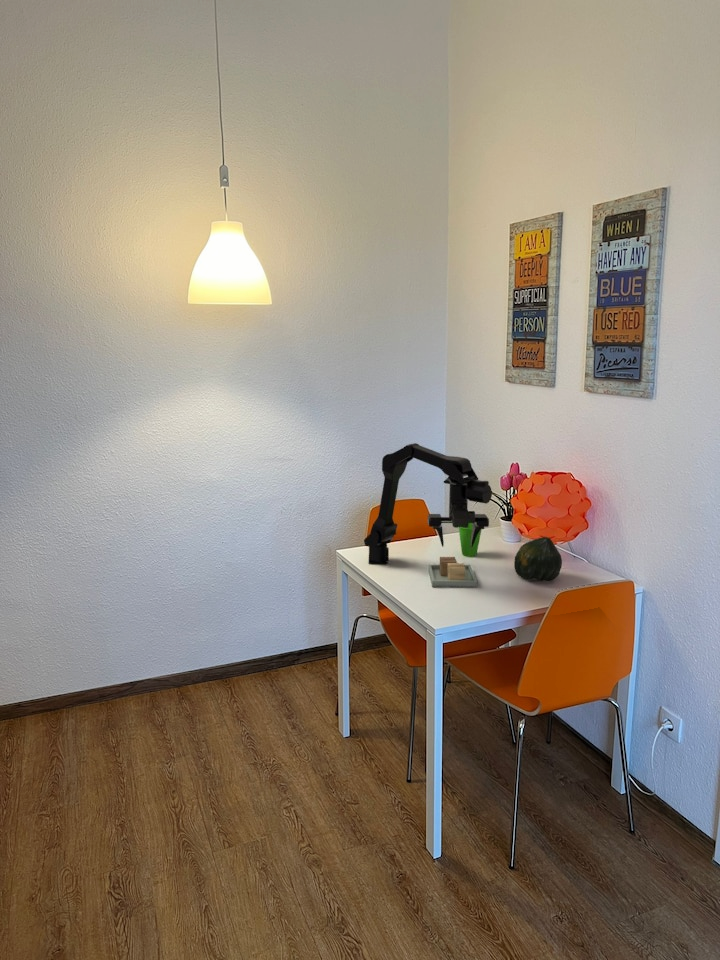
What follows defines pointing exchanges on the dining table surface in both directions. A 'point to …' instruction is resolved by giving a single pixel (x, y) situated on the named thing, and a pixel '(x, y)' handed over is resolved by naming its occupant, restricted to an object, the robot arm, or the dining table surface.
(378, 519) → the robot arm
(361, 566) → the dining table surface
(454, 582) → the tray
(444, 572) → the walnut block
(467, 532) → the cup
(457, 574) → the oak block
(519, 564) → the squash
